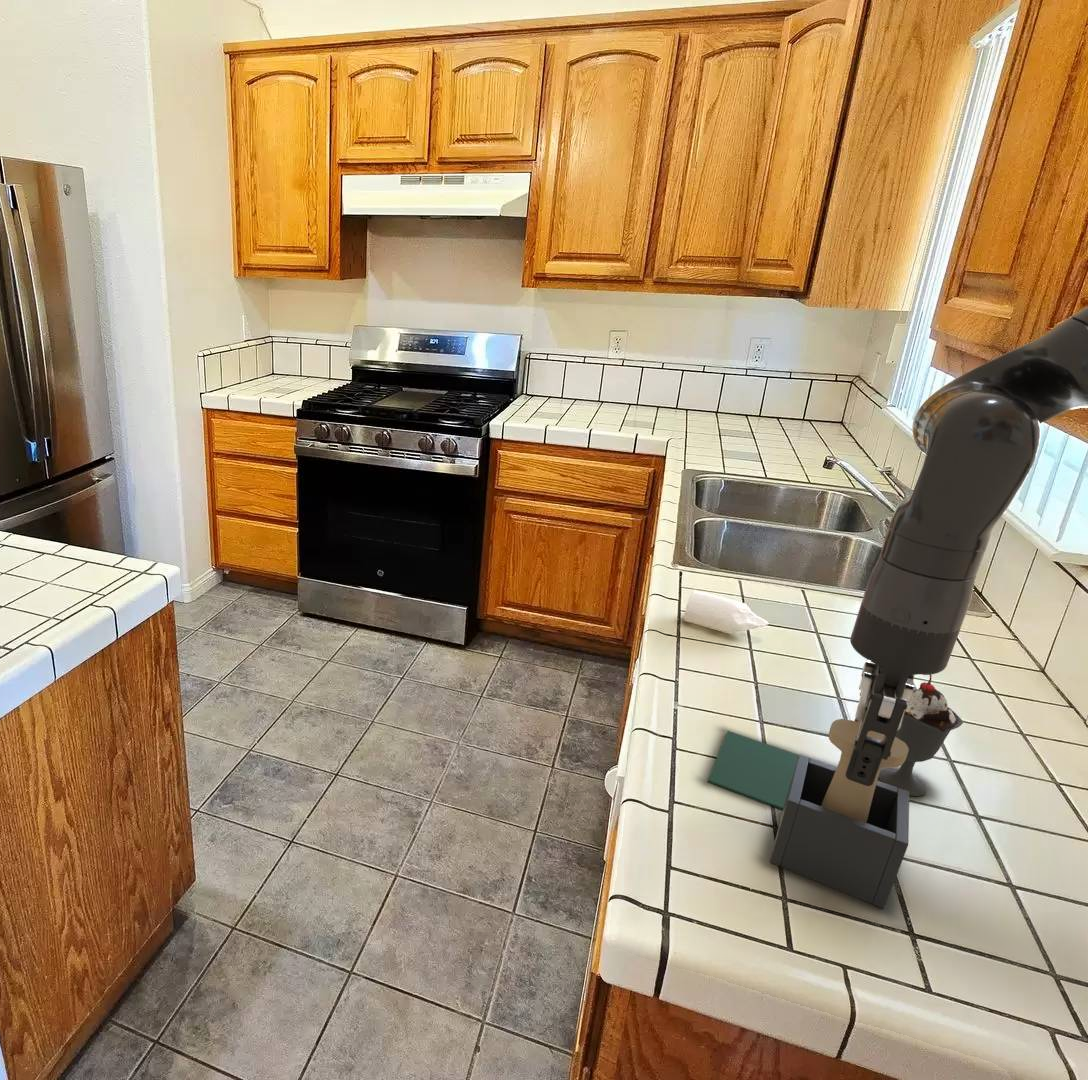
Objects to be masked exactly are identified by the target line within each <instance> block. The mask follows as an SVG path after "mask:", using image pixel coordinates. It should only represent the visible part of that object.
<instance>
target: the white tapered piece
mask: <svg viewBox="0 0 1088 1080" xmlns="http://www.w3.org/2000/svg"><path fill="white" fill-rule="evenodd" d="M683 614H684V615H683V620H684V621H685V622H686V623H691V624H695V625H698V626H701V627H705V628H708V629H711V630H715V631H718V632H720V633H724V634H728V635H733V634H736V633H738V632H746V631H749V630H754V629H758V628H760V627H761V628H762V627H766V626H769V621H767V620H765V618H762V617H761V616H758V615H757V614H755V613H754V612H753V611H752V610H751V608H750V607H749V606H748V605H747V604H746V603H744V602H741V601H737V600H734V599H730V598H727V597H723V596H720V595H717V594H712V593H708V592H703V591H698V590H693V591H692V592H691V594H690V596H689V598H688V601H687V603H686V606H685V609H684V613H683Z"/></svg>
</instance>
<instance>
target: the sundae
mask: <svg viewBox="0 0 1088 1080" xmlns="http://www.w3.org/2000/svg"><path fill="white" fill-rule="evenodd" d="M932 678H933V677H932V674H931V675H929V678H928V682H925V681H924V682H921V683H920V684H919V688H918V689H914V692H913V696H912V699H911V701H910V702H909V703H907V704H908V705H907V709H906V710H905V712H904V716H903V720H902V724H901V728H900V729H899V730H898V731H897V733H896V736H895V737H896V738H898V739H900V740H901V741H903V742H904V743H906V745H907V746H908V749H909V751H908V754H907V757H906V759H905V762H904V763H903V764H902V765H901V766H899V767H898V768H887V767H883V768H882V769H881V771H880V773H879V776H878V780H879V781H880V782H883V783H886V784H889V785H891V786H894V787H897V788H900V789H903V790H906V791H909V797H921V796H924V795H925V794H926V793H927V792H928V790H927V786H926V785H925V783H924V782H923V780H921V779H920V778H919V777H917V776H915V775H913V770H914V768H915V764H916V763H922V762H926V761H930V760H932V759H933V758H934V757H935V756H936V754H937V753H938V752H939V751H940V749H941V747H942V745H943V744H944V742H945V741H946V739H947V737H948V736H949V734H950V732H951V731H953V730H956V729H959V728H960V727H961V726H962V725H963V724H964V721H963V719H962V718H961V717H960V716H959V715H958V714H957V713H956V712H955V711H954V710H953V709H952V708H950V707H949V706H948V699H947V698H946V697H945V695H944V694H943V693H942V692H940V690H938V689H936V687H935V686H934V684H932Z"/></svg>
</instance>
